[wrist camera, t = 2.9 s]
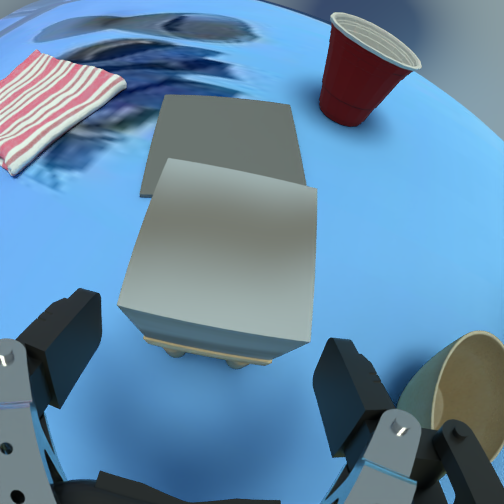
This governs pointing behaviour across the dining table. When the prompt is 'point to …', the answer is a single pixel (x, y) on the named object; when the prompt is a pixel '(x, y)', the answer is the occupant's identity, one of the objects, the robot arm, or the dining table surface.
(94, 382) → the dining table surface
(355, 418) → the robot arm
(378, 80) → the plastic cup
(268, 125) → the mat
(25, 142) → the dish towel
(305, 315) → the stool
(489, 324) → the dining table surface
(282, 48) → the dining table surface
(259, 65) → the dining table surface
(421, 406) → the flower pot
